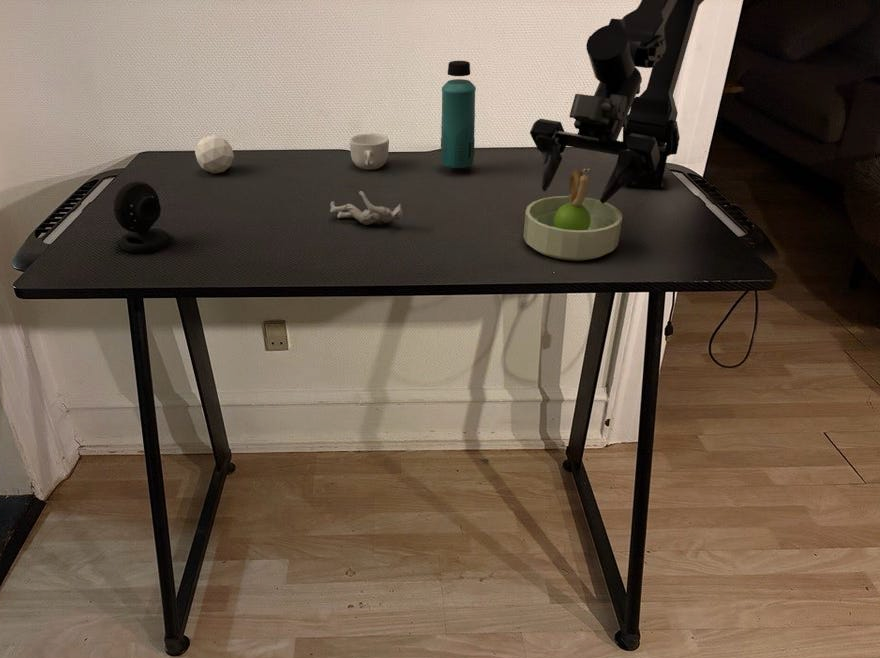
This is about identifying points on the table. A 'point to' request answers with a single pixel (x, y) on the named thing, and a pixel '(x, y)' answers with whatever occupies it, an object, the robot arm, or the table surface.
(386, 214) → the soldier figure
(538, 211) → the basin
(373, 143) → the teacup
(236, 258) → the table surface
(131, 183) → the webcam
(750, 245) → the table surface
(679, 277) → the table surface
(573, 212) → the snail figurine
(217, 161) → the ornament
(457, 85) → the beverage bottle
